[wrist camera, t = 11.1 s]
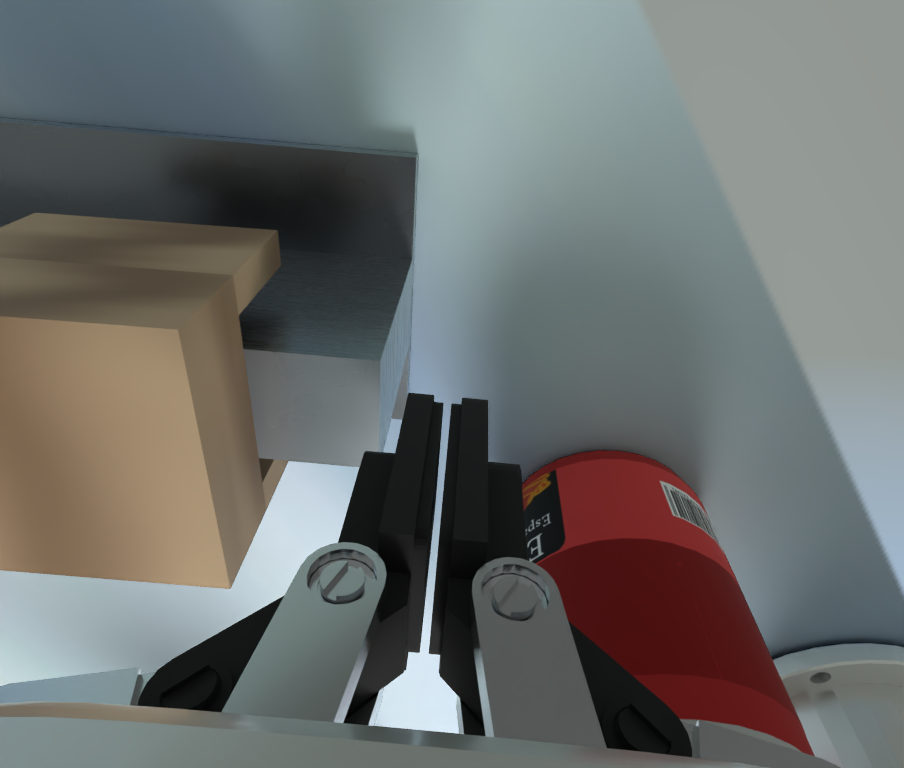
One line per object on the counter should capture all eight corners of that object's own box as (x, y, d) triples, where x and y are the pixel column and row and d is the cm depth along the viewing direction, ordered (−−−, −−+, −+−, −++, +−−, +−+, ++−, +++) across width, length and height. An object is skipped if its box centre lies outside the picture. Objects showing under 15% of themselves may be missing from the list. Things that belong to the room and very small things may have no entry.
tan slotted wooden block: (277, 230, 15) (177, 329, 10) (297, 440, 18) (230, 589, 13) (35, 212, 15) (-178, 303, 10) (100, 425, 18) (-36, 567, 13)
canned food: (505, 439, 23) (517, 739, 13) (721, 446, 22) (892, 758, 13) (498, 579, 27) (503, 885, 17) (681, 586, 26) (789, 903, 17)
